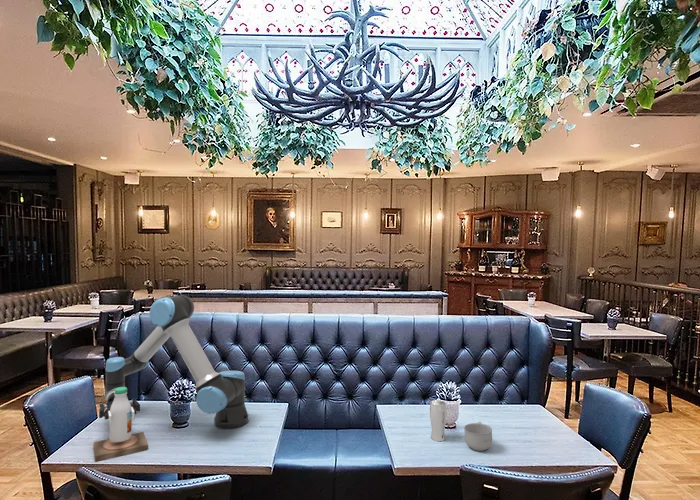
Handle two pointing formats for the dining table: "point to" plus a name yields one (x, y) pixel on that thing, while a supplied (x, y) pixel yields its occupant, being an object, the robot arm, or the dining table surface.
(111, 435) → the milk bottle
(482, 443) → the teacup
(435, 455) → the dining table surface
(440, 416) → the beer glass
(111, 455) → the serving board
